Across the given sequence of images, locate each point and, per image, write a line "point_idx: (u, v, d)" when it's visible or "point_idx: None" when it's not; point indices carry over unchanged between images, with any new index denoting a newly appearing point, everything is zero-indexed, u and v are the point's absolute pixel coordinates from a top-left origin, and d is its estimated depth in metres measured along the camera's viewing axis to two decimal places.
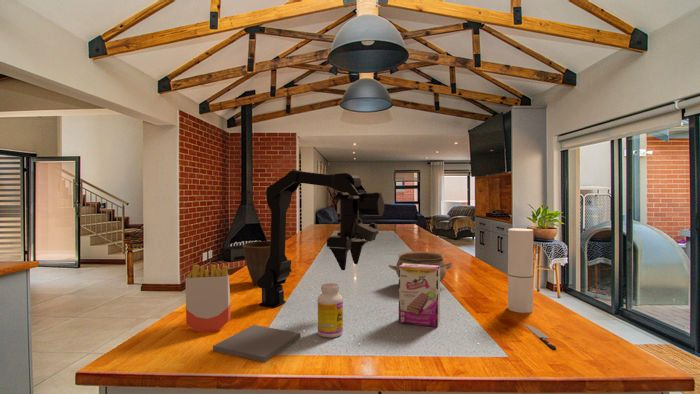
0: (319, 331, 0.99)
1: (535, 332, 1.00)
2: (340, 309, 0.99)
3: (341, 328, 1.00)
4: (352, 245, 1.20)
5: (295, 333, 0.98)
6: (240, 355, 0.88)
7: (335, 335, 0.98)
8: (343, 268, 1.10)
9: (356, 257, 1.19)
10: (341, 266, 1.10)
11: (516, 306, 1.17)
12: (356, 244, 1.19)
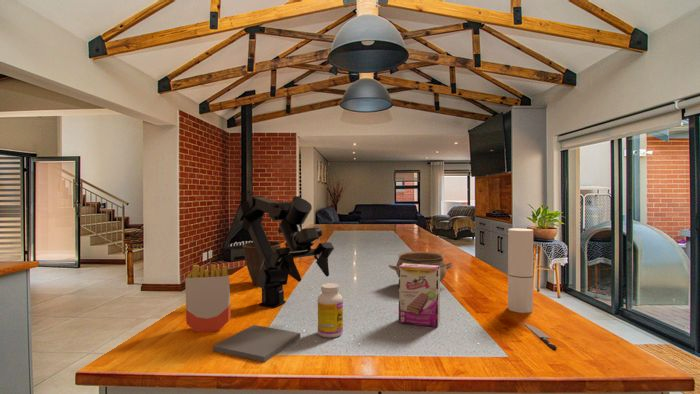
0: (319, 331, 0.99)
1: (535, 332, 1.00)
2: (340, 309, 0.99)
3: (341, 328, 1.00)
4: (319, 262, 1.13)
5: (295, 333, 0.98)
6: (240, 355, 0.88)
7: (335, 335, 0.98)
8: (298, 278, 1.04)
9: (325, 269, 1.10)
10: (296, 278, 1.04)
11: (516, 306, 1.17)
12: (320, 258, 1.13)
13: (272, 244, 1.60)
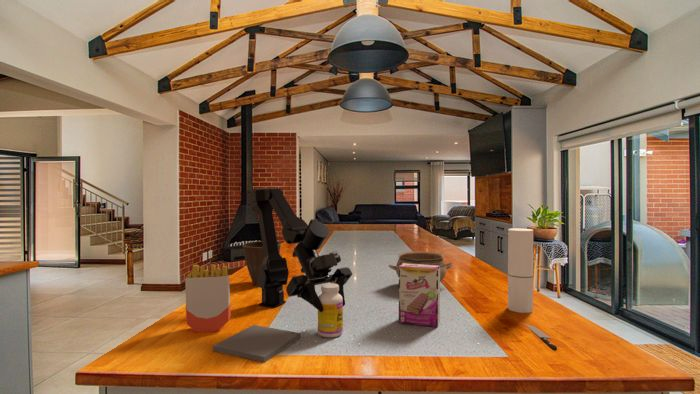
0: (319, 331, 0.99)
1: (536, 332, 1.00)
2: (340, 309, 0.99)
3: (341, 328, 1.00)
4: None
5: (295, 333, 0.98)
6: (240, 355, 0.88)
7: (335, 335, 0.98)
8: (320, 308, 0.98)
9: None
10: (318, 308, 0.98)
11: (516, 306, 1.17)
12: None
13: None
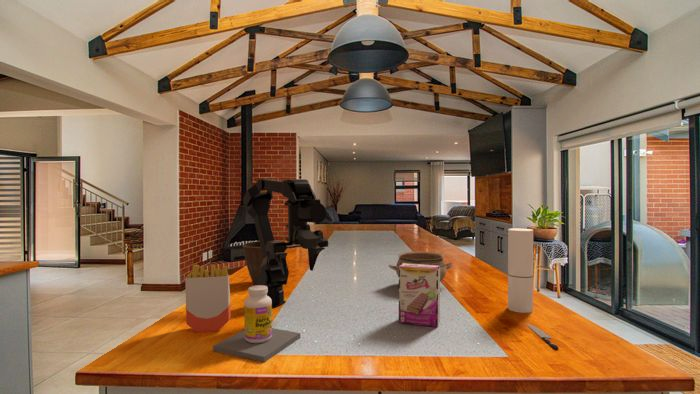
0: None
1: (537, 332, 1.00)
2: (260, 314, 0.92)
3: (263, 335, 0.92)
4: (310, 251, 1.19)
5: (295, 333, 0.98)
6: (240, 355, 0.88)
7: (253, 341, 0.92)
8: (284, 273, 1.12)
9: (311, 263, 1.18)
10: (282, 271, 1.13)
11: (516, 306, 1.17)
12: (312, 250, 1.18)
13: None
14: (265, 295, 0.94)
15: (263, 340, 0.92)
